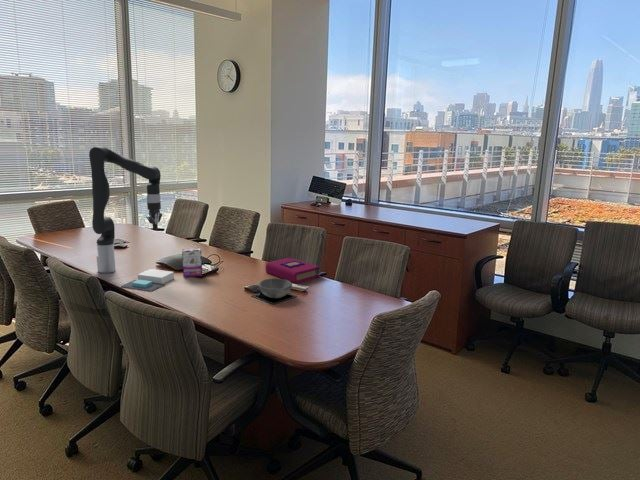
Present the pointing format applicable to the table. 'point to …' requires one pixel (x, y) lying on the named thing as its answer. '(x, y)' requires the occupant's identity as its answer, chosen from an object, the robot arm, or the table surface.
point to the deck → (156, 276)
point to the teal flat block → (142, 283)
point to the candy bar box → (192, 262)
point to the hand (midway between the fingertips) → (155, 230)
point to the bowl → (275, 287)
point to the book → (292, 270)
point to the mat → (150, 288)
